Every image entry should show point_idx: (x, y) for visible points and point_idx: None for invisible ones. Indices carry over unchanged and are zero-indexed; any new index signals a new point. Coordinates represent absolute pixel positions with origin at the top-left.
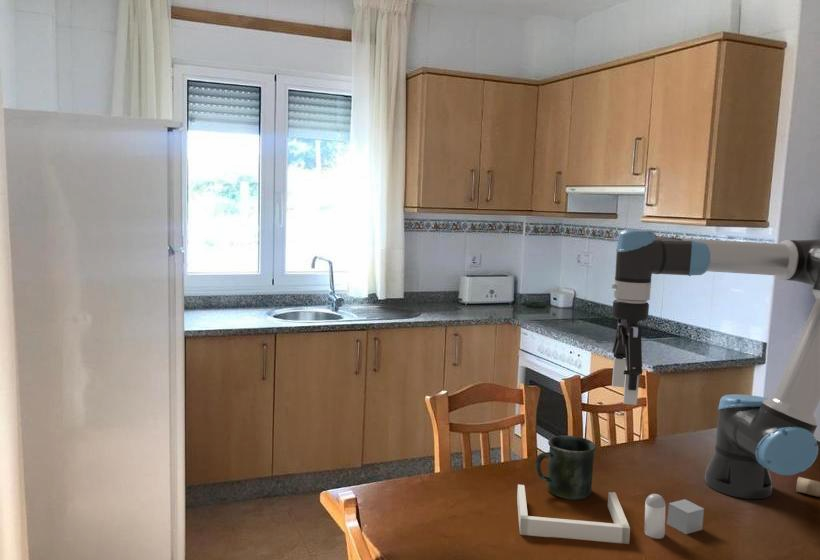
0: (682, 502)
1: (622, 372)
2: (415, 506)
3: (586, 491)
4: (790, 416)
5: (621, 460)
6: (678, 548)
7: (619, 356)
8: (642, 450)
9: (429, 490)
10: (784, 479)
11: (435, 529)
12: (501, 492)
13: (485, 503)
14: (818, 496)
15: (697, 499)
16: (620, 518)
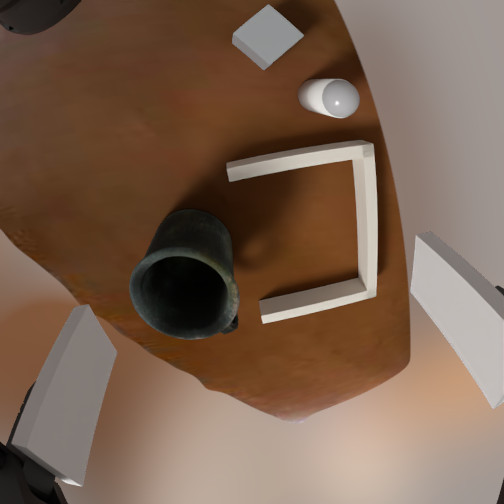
0: (254, 39)
1: (68, 383)
2: (321, 382)
3: (212, 219)
4: None
5: (17, 179)
6: (347, 64)
7: (40, 480)
8: None
9: (276, 386)
10: None
11: (367, 354)
12: (246, 328)
13: (290, 336)
14: None
15: (123, 24)
16: (342, 158)
